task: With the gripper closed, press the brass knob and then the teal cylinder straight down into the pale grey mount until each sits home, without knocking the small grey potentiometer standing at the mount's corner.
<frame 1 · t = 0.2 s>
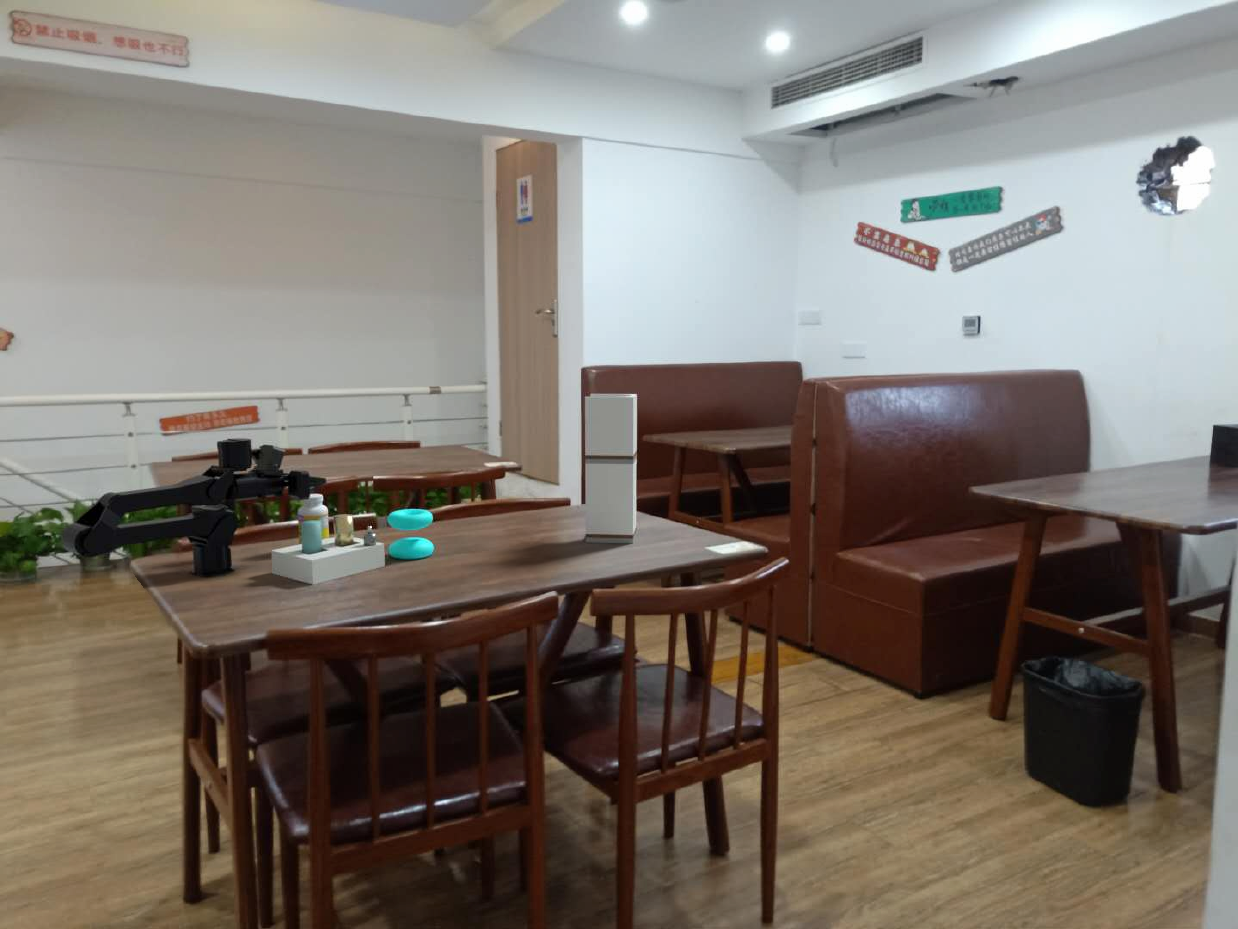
hand: (313, 478, 209), 17 cm above the table, tool horizontal, fingers open, 9 cm apart
supplement bottle: (314, 550, 211), on the table
brass knob: (343, 532, 196), point 7 cm above the table, slide at 0.0 cm
teal cylinder: (311, 538, 189), point 7 cm above the table, slide at 0.0 cm
potentiometer: (370, 544, 195), point 5 cm above the table, touching mount
mount: (329, 569, 194), on the table
toy refrigerator: (611, 538, 224), on the table
donuts: (411, 556, 206), on the table
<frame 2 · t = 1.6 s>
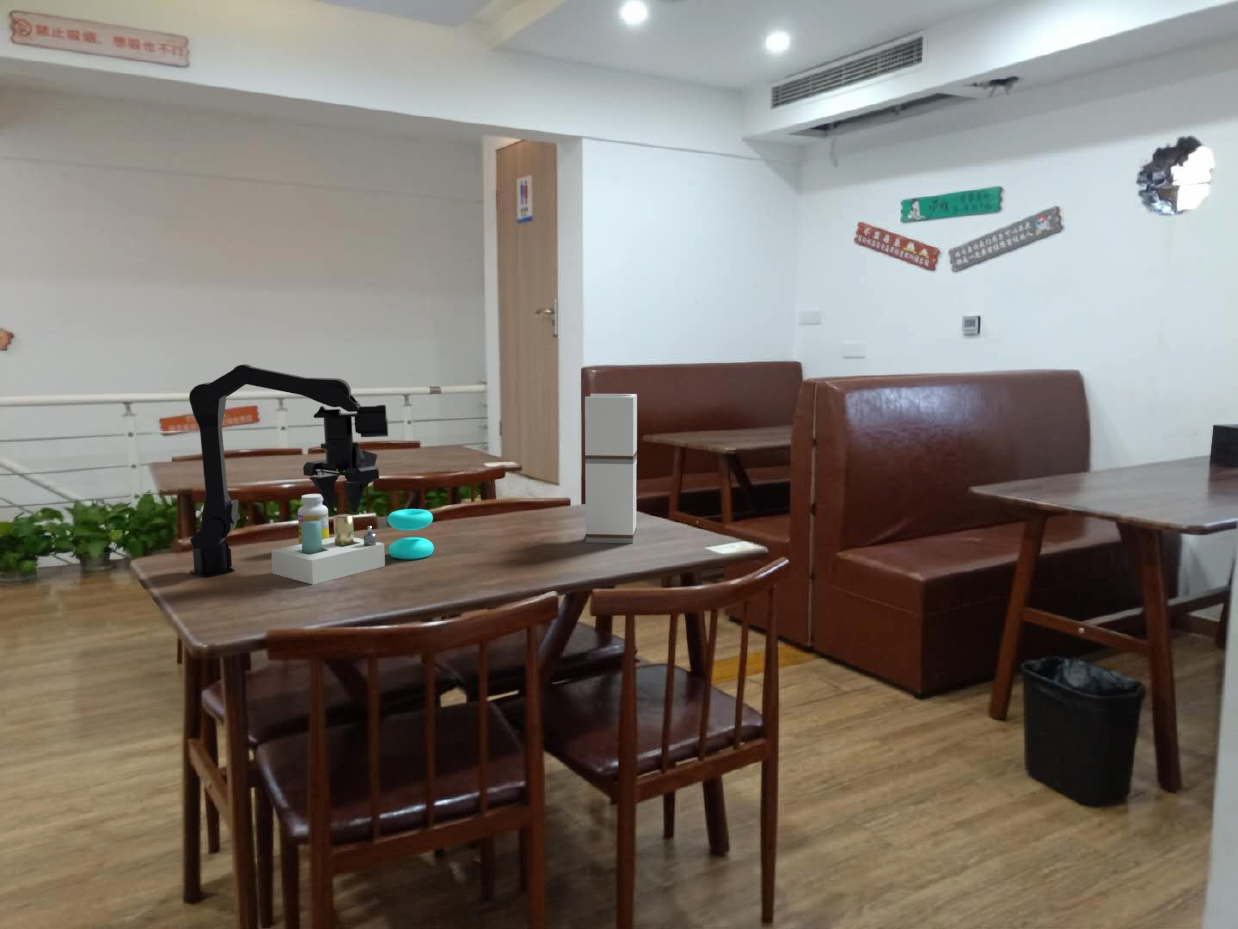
hand: (342, 510, 195), 12 cm above the table, tool pointing down, fingers open, 8 cm apart
nothing on the table moved.
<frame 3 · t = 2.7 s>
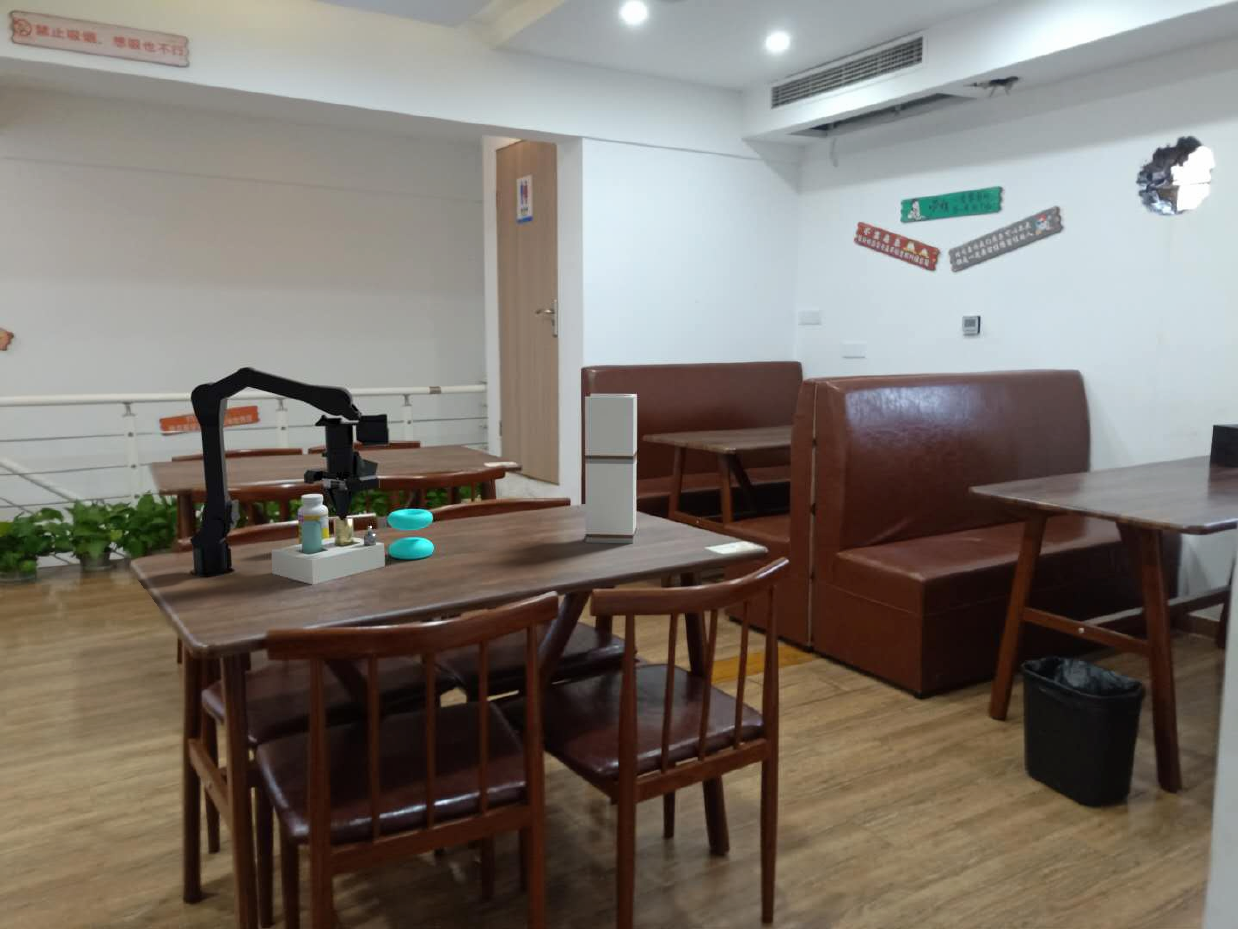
hand: (342, 518, 195), 10 cm above the table, tool pointing down, fingers closed, pressing on brass knob
brass knob: (343, 534, 196), point 7 cm above the table, slide at 0.6 cm, touching gripper
everything else where it was.
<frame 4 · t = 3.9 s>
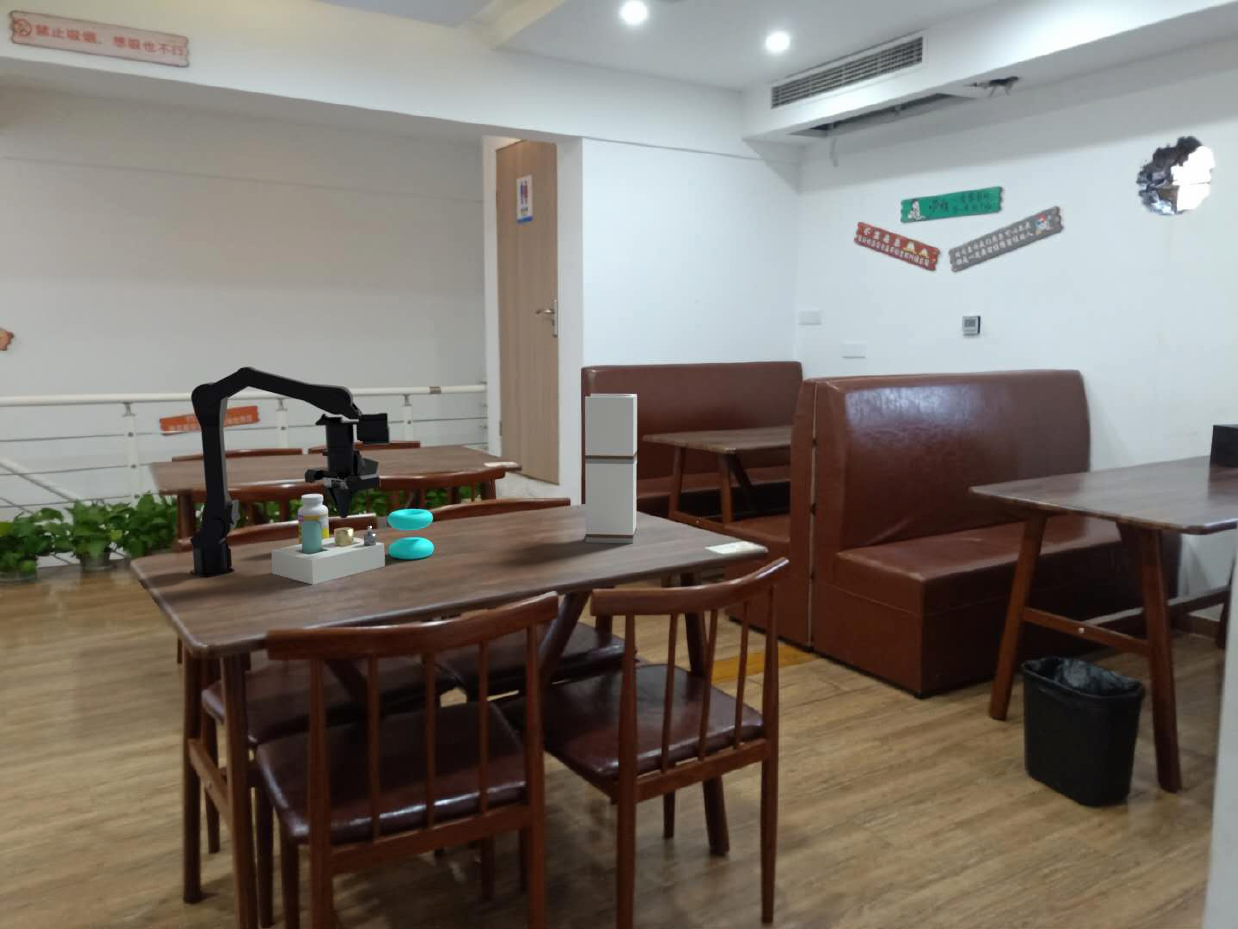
hand: (343, 517, 195), 11 cm above the table, tool pointing down, fingers closed
brass knob: (344, 545, 196), point 5 cm above the table, slide at 2.9 cm
everything else where it was.
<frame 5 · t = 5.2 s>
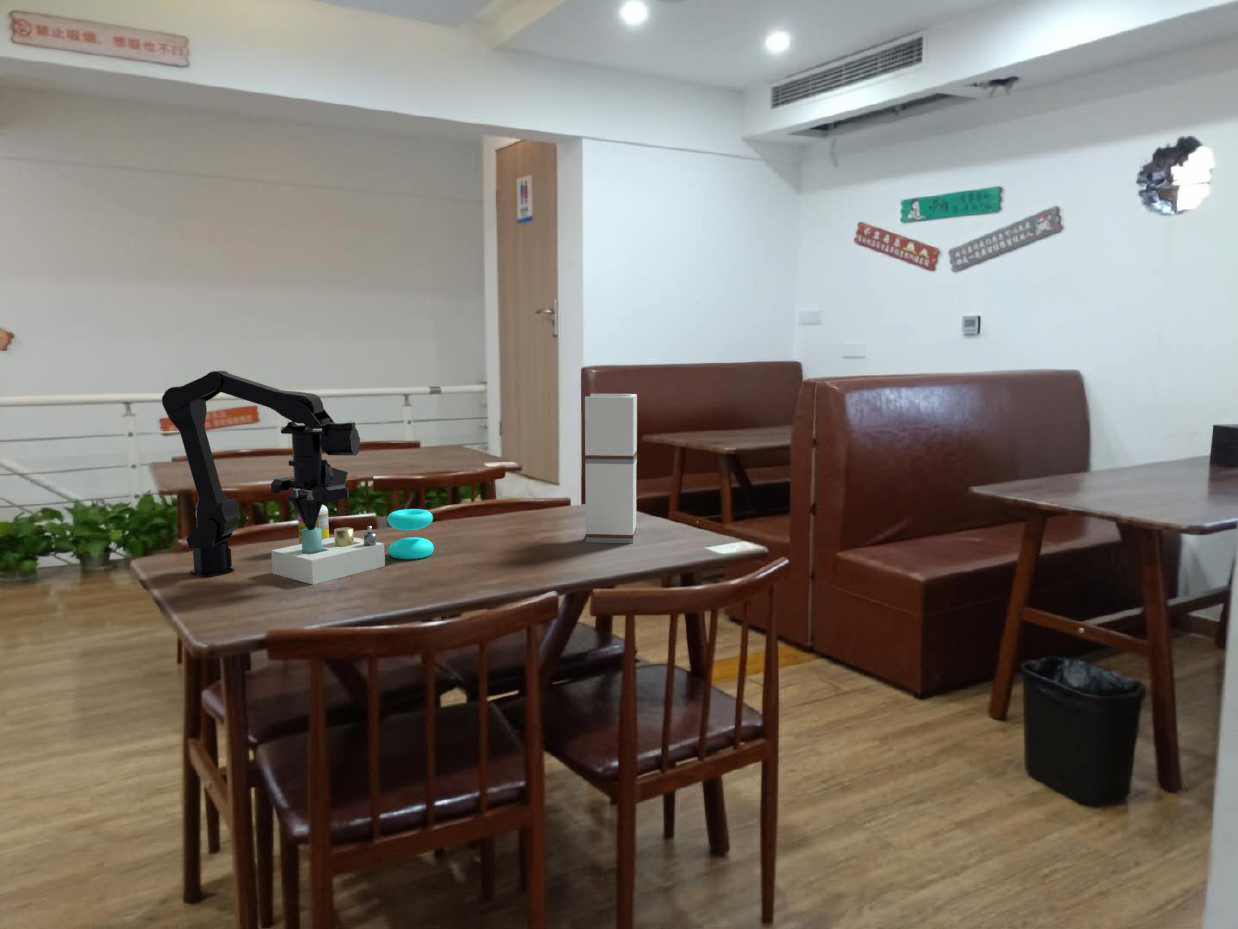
hand: (311, 529, 189), 9 cm above the table, tool pointing down, fingers closed, pressing on teal cylinder
teal cylinder: (312, 546, 190), point 6 cm above the table, slide at 1.6 cm, touching gripper
everything else where it was.
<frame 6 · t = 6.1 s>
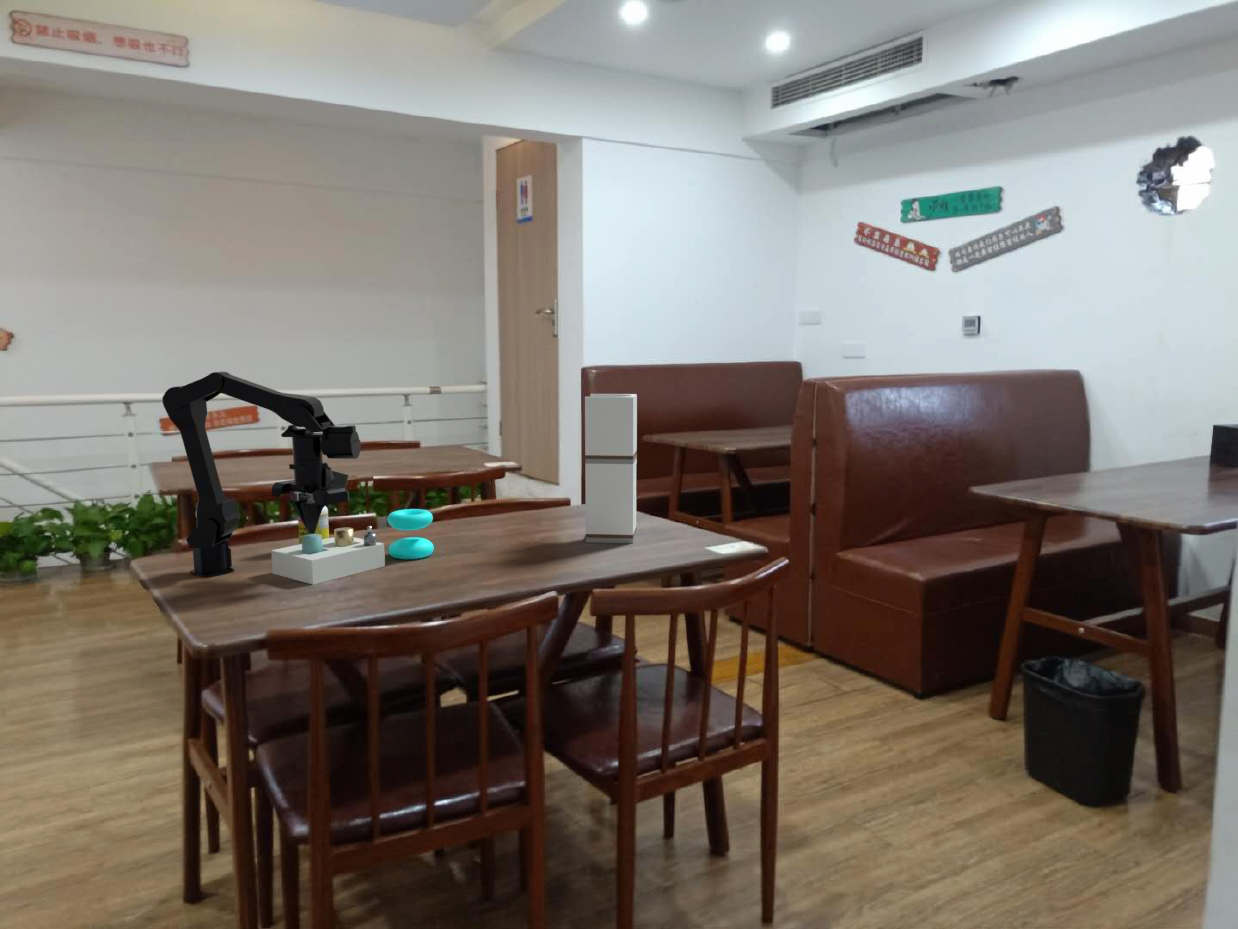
hand: (311, 532, 189), 9 cm above the table, tool pointing down, fingers closed
teal cylinder: (312, 552, 190), point 5 cm above the table, slide at 2.9 cm
everything else where it was.
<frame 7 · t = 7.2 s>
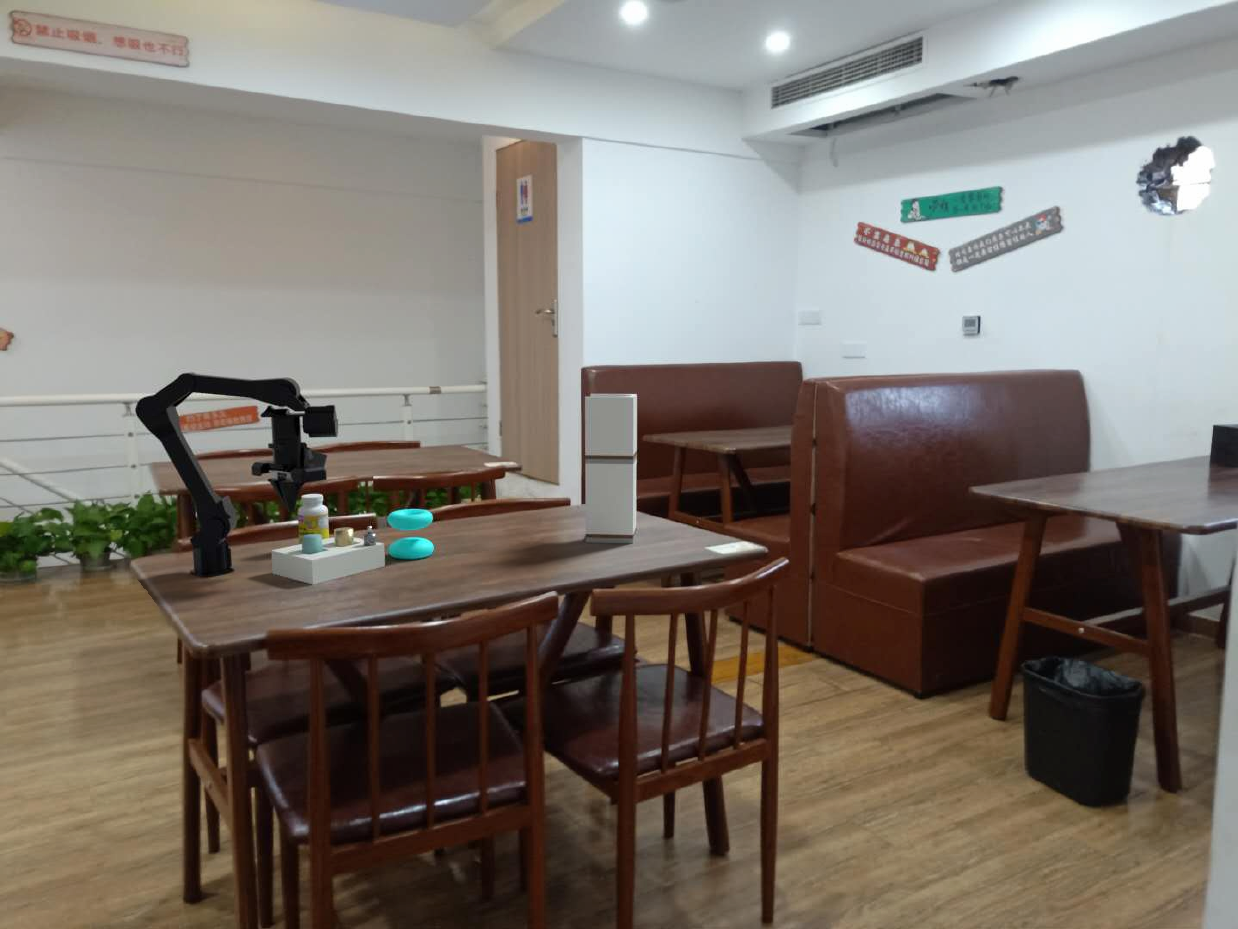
hand: (290, 511, 193), 12 cm above the table, tool pointing down, fingers closed
nothing on the table moved.
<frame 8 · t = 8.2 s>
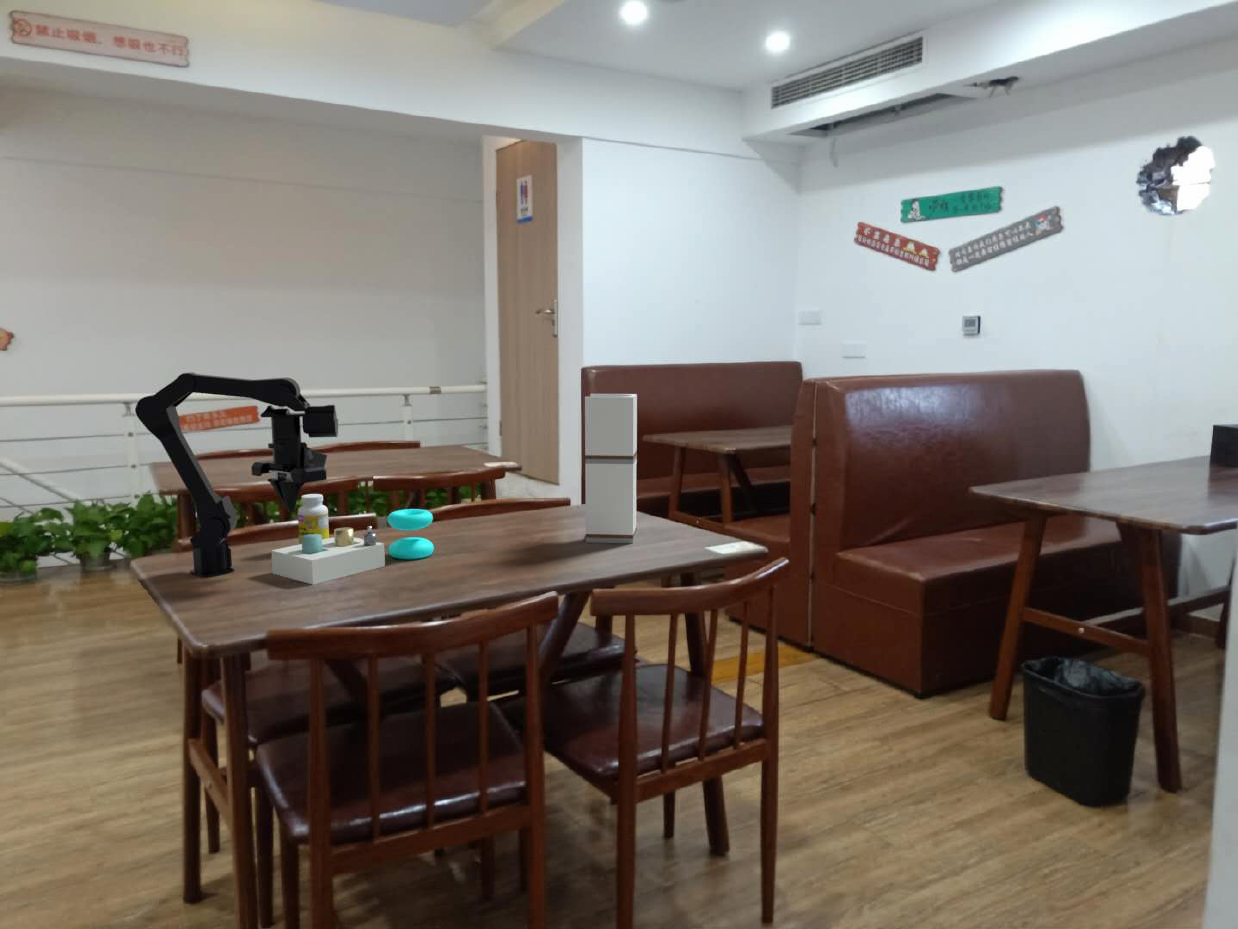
hand: (290, 511, 193), 13 cm above the table, tool pointing down, fingers closed
nothing on the table moved.
at the end: brass knob slide at 2.9 cm; teal cylinder slide at 2.9 cm; potentiometer moved 0.1 cm from its start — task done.
